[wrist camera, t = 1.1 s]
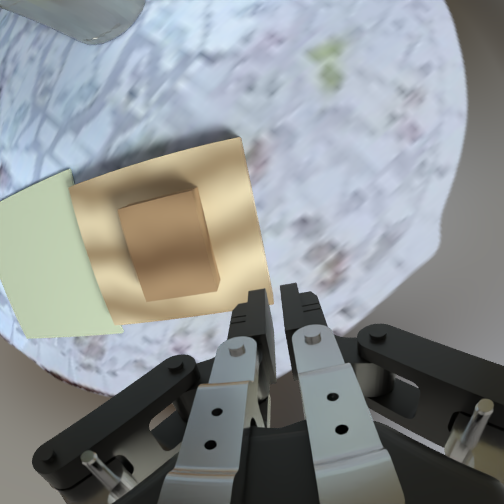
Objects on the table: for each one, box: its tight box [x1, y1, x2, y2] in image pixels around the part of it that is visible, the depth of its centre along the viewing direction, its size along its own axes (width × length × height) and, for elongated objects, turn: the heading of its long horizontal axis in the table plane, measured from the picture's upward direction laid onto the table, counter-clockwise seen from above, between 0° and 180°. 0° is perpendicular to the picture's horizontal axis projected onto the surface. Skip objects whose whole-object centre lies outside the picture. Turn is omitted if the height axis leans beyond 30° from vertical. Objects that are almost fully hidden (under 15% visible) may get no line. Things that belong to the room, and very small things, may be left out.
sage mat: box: [0, 169, 124, 338], centre depth 32 cm, size 20×19×1 cm
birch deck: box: [68, 137, 274, 325], centre depth 29 cm, size 16×18×2 cm
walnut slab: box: [117, 187, 221, 302], centre depth 27 cm, size 9×7×2 cm
